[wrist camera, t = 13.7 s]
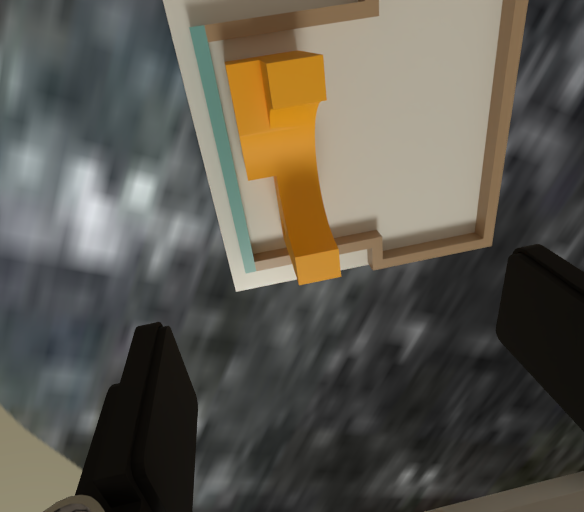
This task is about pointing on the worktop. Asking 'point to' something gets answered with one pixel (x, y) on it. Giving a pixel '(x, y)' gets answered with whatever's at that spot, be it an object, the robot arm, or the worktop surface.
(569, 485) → the robot arm
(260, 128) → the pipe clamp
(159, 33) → the worktop surface
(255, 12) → the shallow rimmed tray
